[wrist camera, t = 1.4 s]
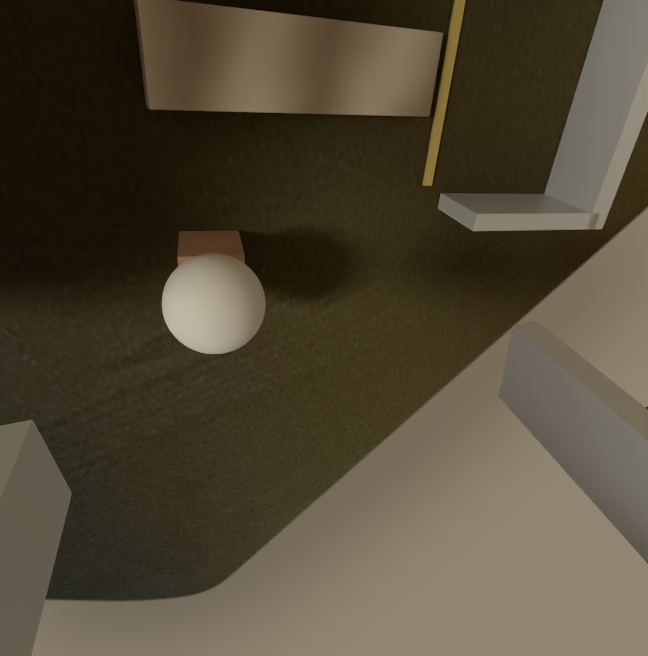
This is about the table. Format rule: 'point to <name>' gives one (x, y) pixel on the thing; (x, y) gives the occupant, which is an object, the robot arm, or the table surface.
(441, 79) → the line
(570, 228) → the fence
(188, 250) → the salmon pink box
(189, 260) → the ball
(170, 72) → the ramp
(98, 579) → the table surface
